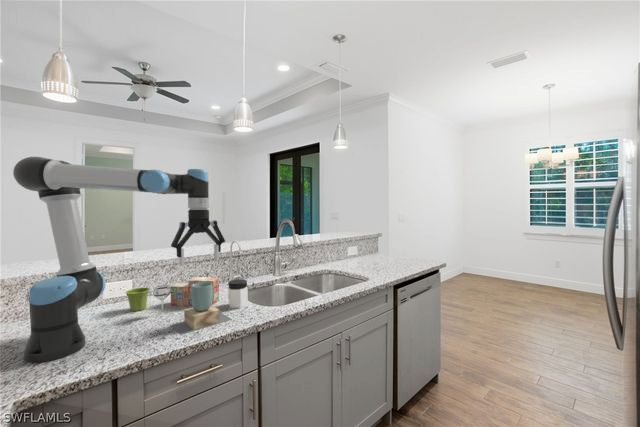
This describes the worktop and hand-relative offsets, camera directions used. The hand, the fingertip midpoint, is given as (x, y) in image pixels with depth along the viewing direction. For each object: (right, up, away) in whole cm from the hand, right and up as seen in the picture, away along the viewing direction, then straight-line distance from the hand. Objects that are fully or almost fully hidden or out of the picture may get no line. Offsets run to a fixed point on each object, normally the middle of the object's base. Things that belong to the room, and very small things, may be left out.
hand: (199, 263), depth 118 cm
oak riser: (0, -24, +1) cm, 24 cm away
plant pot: (-36, -25, +19) cm, 47 cm away
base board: (0, -25, +1) cm, 25 cm away
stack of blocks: (-13, -24, +26) cm, 38 cm away
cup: (+1, -19, +1) cm, 19 cm away
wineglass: (-21, -25, +12) cm, 35 cm away
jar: (+9, -24, +21) cm, 33 cm away
